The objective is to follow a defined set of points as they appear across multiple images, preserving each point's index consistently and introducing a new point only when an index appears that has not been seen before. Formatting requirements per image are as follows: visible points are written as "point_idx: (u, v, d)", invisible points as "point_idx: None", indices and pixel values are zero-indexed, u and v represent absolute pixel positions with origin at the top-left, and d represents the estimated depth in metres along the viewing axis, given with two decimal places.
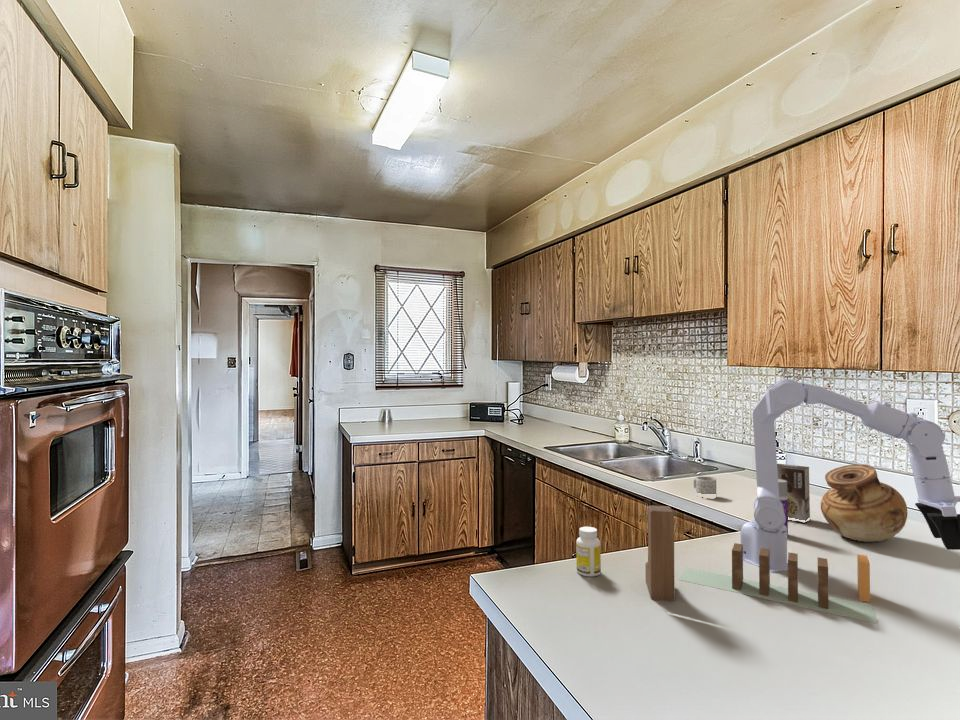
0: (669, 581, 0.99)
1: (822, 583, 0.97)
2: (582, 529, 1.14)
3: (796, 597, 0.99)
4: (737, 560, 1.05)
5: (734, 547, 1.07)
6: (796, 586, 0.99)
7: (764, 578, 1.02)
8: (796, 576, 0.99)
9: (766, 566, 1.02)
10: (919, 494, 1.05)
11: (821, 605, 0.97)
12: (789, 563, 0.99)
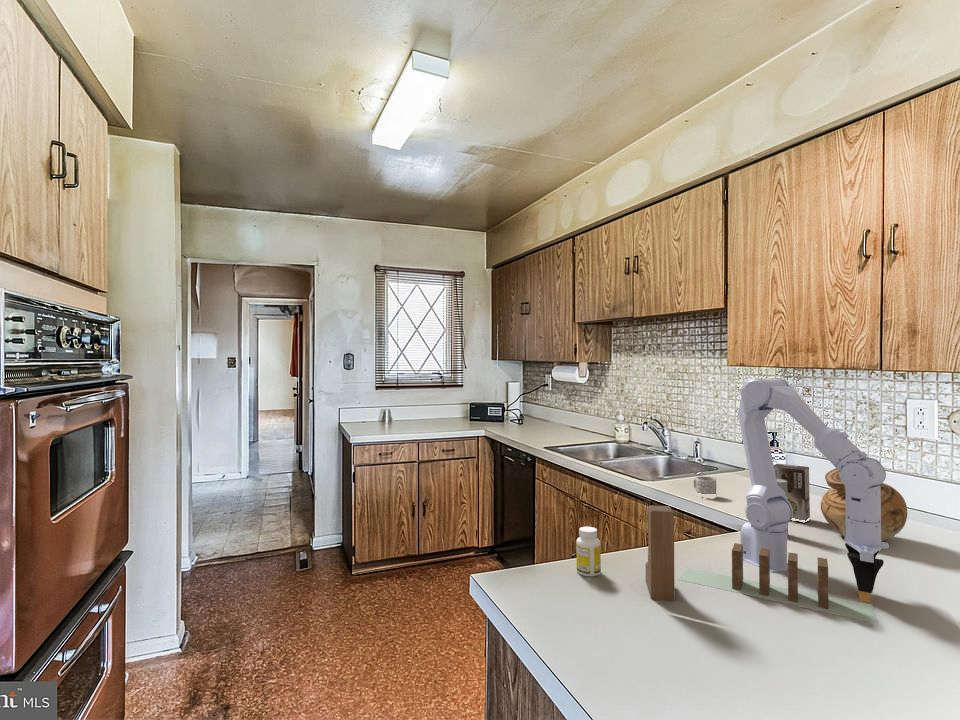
0: (669, 581, 0.99)
1: (822, 583, 0.97)
2: (582, 529, 1.14)
3: (796, 597, 0.99)
4: (737, 560, 1.05)
5: (734, 547, 1.07)
6: (796, 586, 0.99)
7: (764, 578, 1.02)
8: (796, 576, 0.99)
9: (766, 566, 1.02)
10: (846, 534, 1.02)
11: (821, 605, 0.97)
12: (789, 563, 0.99)
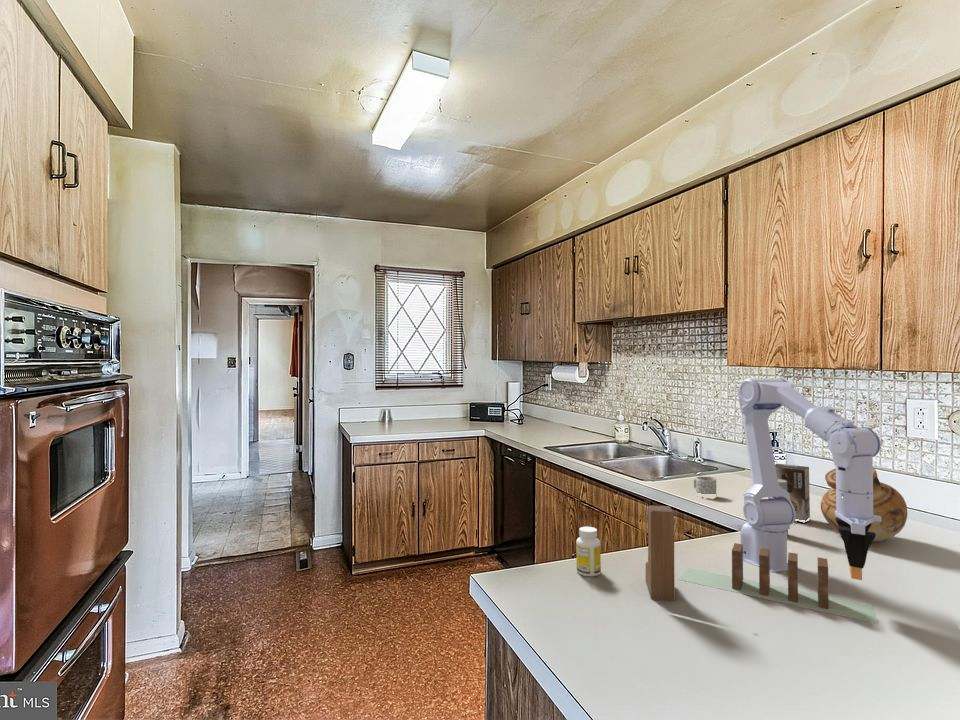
0: (669, 581, 0.99)
1: (822, 583, 0.97)
2: (582, 529, 1.14)
3: (796, 597, 0.99)
4: (737, 560, 1.05)
5: (734, 547, 1.07)
6: (796, 586, 0.99)
7: (764, 578, 1.02)
8: (796, 576, 0.99)
9: (766, 566, 1.02)
10: (837, 507, 0.97)
11: (821, 605, 0.97)
12: (789, 563, 0.99)
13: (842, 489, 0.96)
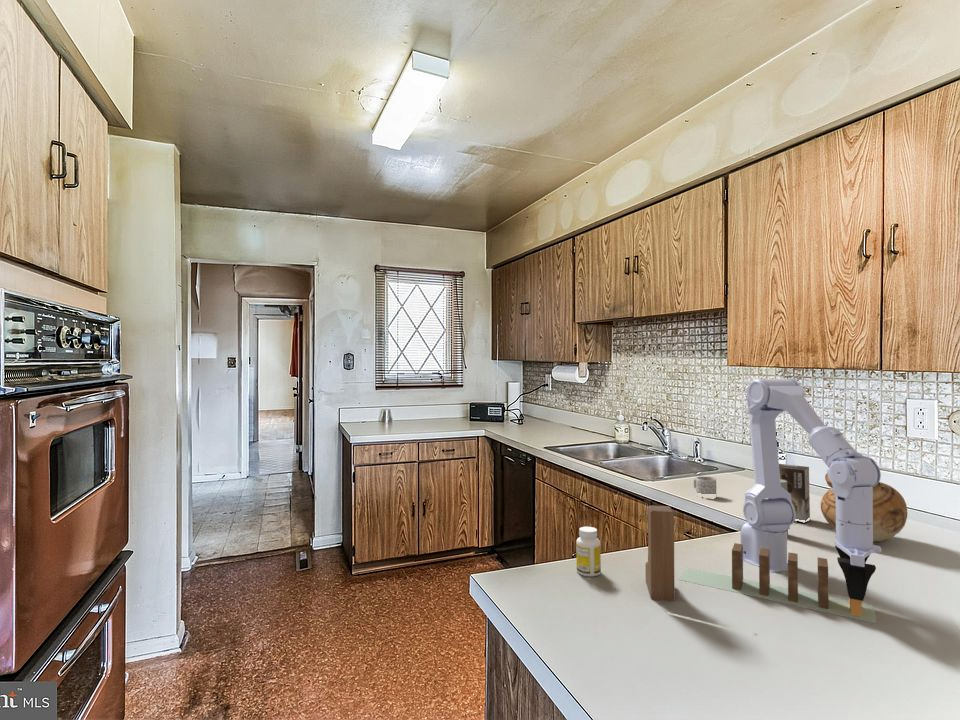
0: (669, 581, 0.99)
1: (822, 583, 0.97)
2: (582, 529, 1.14)
3: (796, 597, 0.99)
4: (737, 560, 1.05)
5: (734, 547, 1.07)
6: (796, 586, 0.99)
7: (764, 578, 1.02)
8: (796, 576, 0.99)
9: (766, 566, 1.02)
10: (836, 536, 0.97)
11: (821, 605, 0.97)
12: (789, 563, 0.99)
13: (842, 519, 0.95)
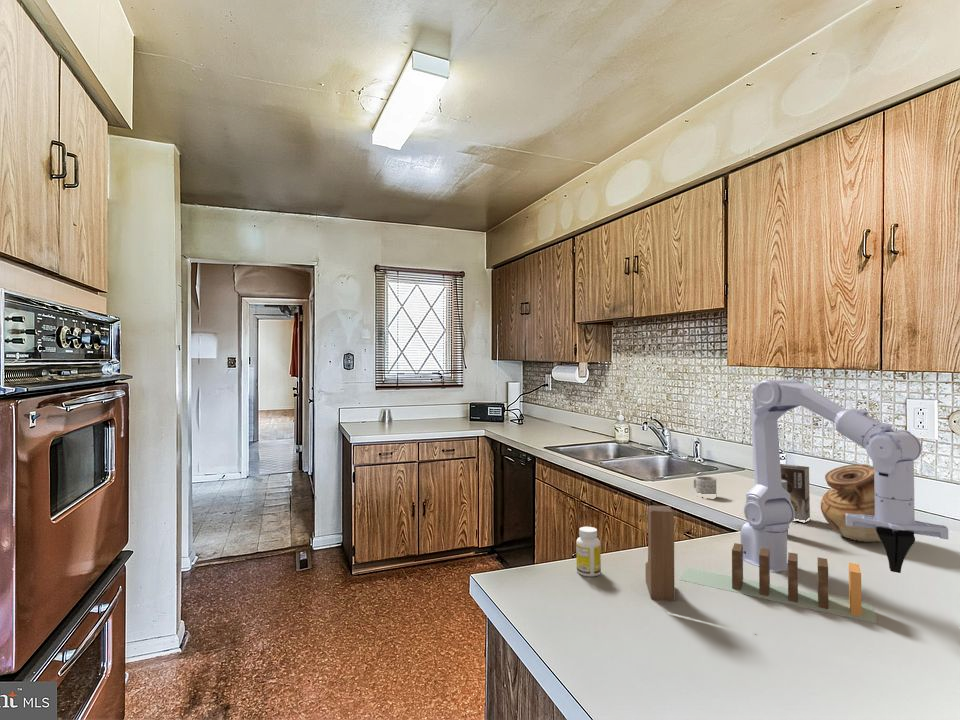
0: (669, 581, 0.99)
1: (822, 583, 0.97)
2: (582, 529, 1.14)
3: (796, 597, 0.99)
4: (737, 560, 1.05)
5: (734, 547, 1.07)
6: (796, 586, 0.99)
7: (764, 578, 1.02)
8: (796, 576, 0.99)
9: (766, 566, 1.02)
10: None
11: (821, 605, 0.97)
12: (789, 563, 0.99)
13: (884, 496, 0.92)
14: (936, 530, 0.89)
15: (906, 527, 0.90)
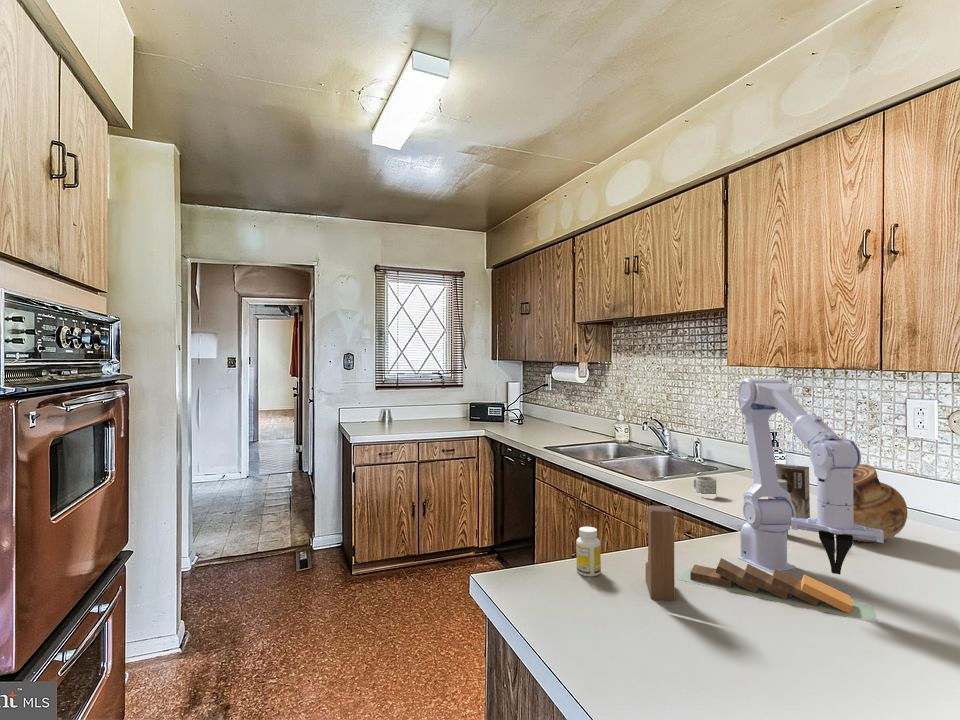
0: (669, 581, 0.99)
1: (790, 590, 0.99)
2: (582, 529, 1.14)
3: (782, 591, 1.00)
4: (700, 576, 1.08)
5: None
6: (770, 585, 1.01)
7: (739, 580, 1.04)
8: (760, 579, 1.02)
9: (727, 572, 1.05)
10: None
11: (814, 603, 0.97)
12: (746, 578, 1.04)
13: (822, 500, 0.97)
14: (872, 534, 0.94)
15: (844, 531, 0.95)
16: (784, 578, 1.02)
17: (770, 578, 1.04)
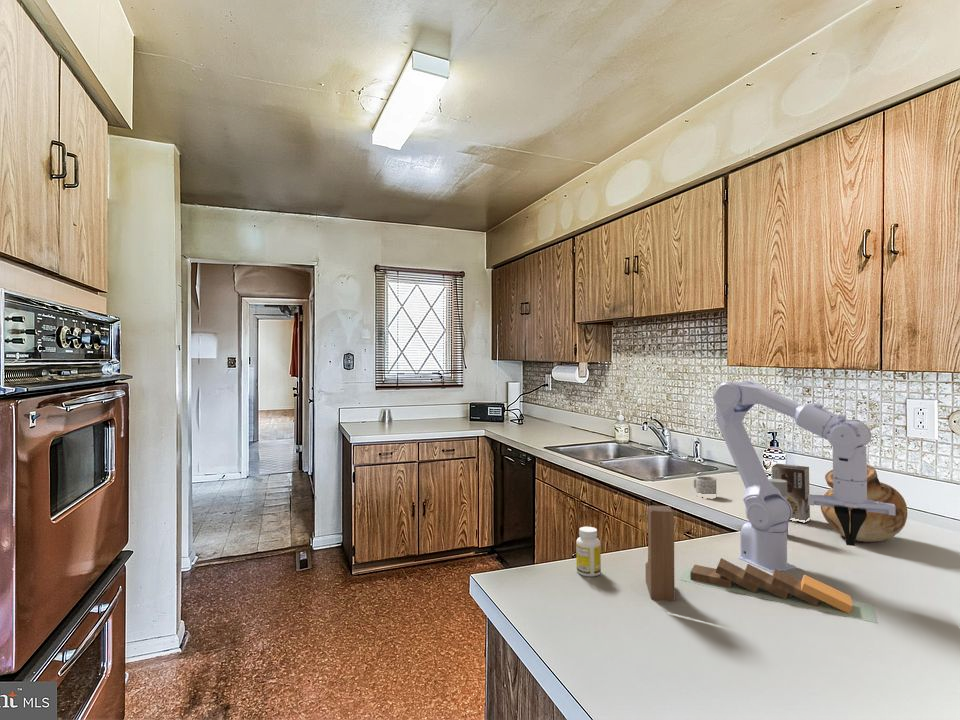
0: (669, 581, 0.99)
1: (790, 590, 0.99)
2: (582, 529, 1.14)
3: (782, 591, 1.00)
4: (700, 576, 1.08)
5: None
6: (770, 585, 1.01)
7: (739, 580, 1.04)
8: (760, 579, 1.02)
9: (727, 572, 1.05)
10: None
11: (814, 603, 0.97)
12: (746, 578, 1.04)
13: (844, 478, 1.03)
14: (885, 507, 1.00)
15: (859, 505, 1.01)
16: (784, 578, 1.02)
17: (770, 578, 1.04)
